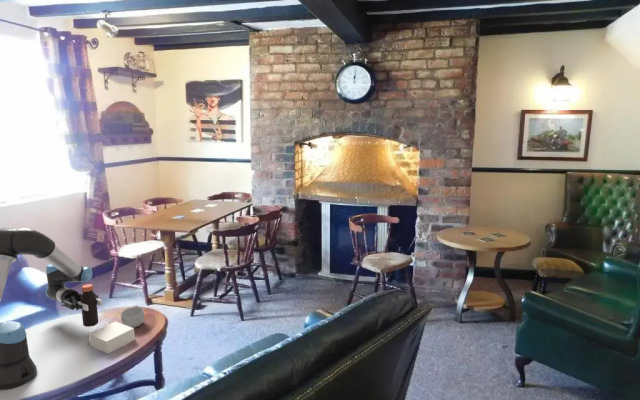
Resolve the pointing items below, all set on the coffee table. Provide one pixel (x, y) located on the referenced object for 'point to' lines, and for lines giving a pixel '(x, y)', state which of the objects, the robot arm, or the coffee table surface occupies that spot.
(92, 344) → the riser
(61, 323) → the coffee table surface
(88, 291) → the vinegar
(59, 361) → the coffee table surface
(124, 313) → the teacup
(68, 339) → the coffee table surface
